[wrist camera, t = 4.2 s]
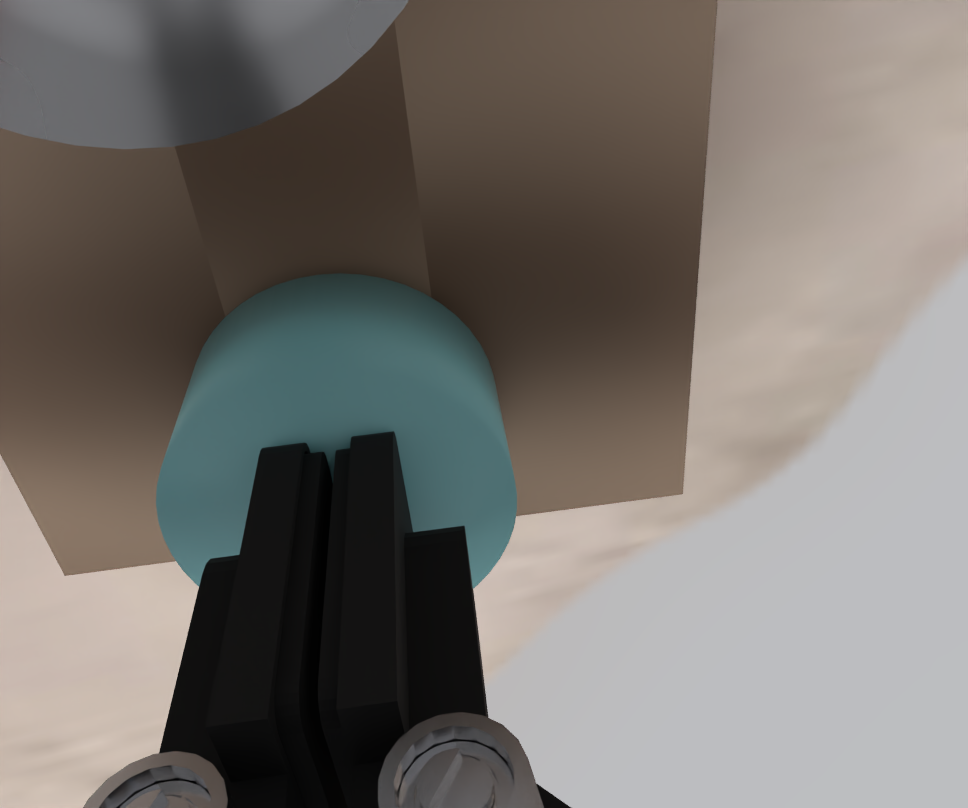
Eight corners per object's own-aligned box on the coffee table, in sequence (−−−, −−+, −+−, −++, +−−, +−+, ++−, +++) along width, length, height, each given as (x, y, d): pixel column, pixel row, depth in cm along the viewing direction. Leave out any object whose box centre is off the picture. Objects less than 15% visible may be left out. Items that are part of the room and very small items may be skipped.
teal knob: (200, 188, 15) (102, 393, 10) (460, 158, 15) (504, 342, 10) (262, 403, 17) (211, 654, 12) (482, 375, 18) (526, 610, 12)
